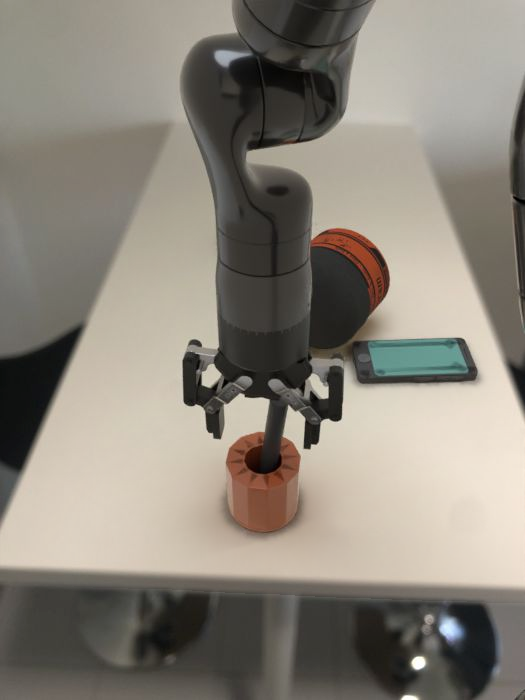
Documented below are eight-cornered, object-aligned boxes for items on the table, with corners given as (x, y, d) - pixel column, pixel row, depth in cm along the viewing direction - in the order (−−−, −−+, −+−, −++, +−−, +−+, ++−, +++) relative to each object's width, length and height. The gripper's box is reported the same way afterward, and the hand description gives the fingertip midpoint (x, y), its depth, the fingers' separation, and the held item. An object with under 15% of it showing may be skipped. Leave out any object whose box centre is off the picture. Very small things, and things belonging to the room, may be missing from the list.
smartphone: (351, 339, 89) (464, 336, 90) (350, 347, 90) (462, 343, 91) (360, 377, 84) (480, 373, 84) (359, 385, 85) (478, 381, 85)
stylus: (270, 507, 70) (288, 408, 62) (252, 504, 70) (268, 405, 62) (272, 494, 71) (290, 396, 63) (255, 491, 71) (271, 392, 63)
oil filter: (385, 324, 94) (397, 243, 85) (343, 374, 86) (352, 290, 78) (304, 293, 99) (308, 215, 91) (258, 338, 91) (257, 256, 83)
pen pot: (293, 536, 68) (296, 492, 63) (222, 527, 68) (220, 484, 64) (300, 479, 73) (303, 435, 69) (235, 472, 74) (233, 428, 69)
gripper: (164, 320, 52) (181, 459, 62) (351, 337, 50) (336, 477, 61) (186, 266, 57) (198, 402, 68) (355, 280, 56) (340, 417, 66)
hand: (263, 437), depth 64 cm, fingers open, 8 cm apart
